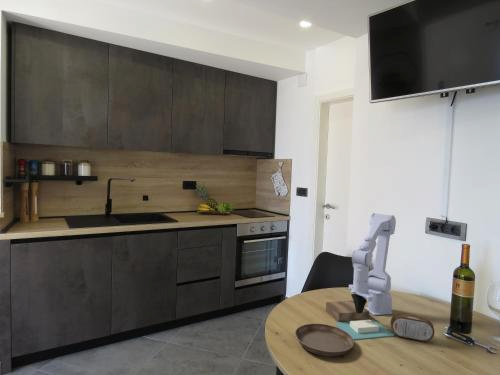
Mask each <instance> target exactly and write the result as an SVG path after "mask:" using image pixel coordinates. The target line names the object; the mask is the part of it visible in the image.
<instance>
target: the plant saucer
mask: <svg viewBox="0 0 500 375" xmlns="http://www.w3.org/2000/svg"><path fill="white" fill-rule="evenodd" d="M294 336H295V337H296V340H297V341H298V343H299V344H300V345H301V346H302V347H303V348H304V349H305V350H306V351H308V352H310V353H313V354H315V355H319V356H323V357H340V356H341V355H344V354H346V353H347V352H349V351H350V350H351V349H352V348H353V346H354V345H355V340H353V338H352V337H351V336H350V335H349V334H348V333H347V332H345V331H344V330H342V329H340V328H339V327H338V326H337V327H336V326H334V325H329V324H324V323H306V324H302V325H300V326H299V327H297V328H296V330H295V332H294Z"/></svg>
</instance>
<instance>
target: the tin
mask: <svg viewBox="0 0 500 375" xmlns="http://www.w3.org/2000/svg"><path fill="white" fill-rule="evenodd" d="M390 327H391V331H392V332H393V334H394V335H396V336H399V337H400V338H405V339H410V340H414V341H418V342H424V343H425V342H429V341H430V340H432V339H433V338H434V336H435V328H434V325H433V323H432V322H431V321H430V320H429V319H427V318H425V317H421V316H420V317H419V316H414V315H410V314H405V313H397V314H395V315H393V316H392V317H391V320H390Z"/></svg>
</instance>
